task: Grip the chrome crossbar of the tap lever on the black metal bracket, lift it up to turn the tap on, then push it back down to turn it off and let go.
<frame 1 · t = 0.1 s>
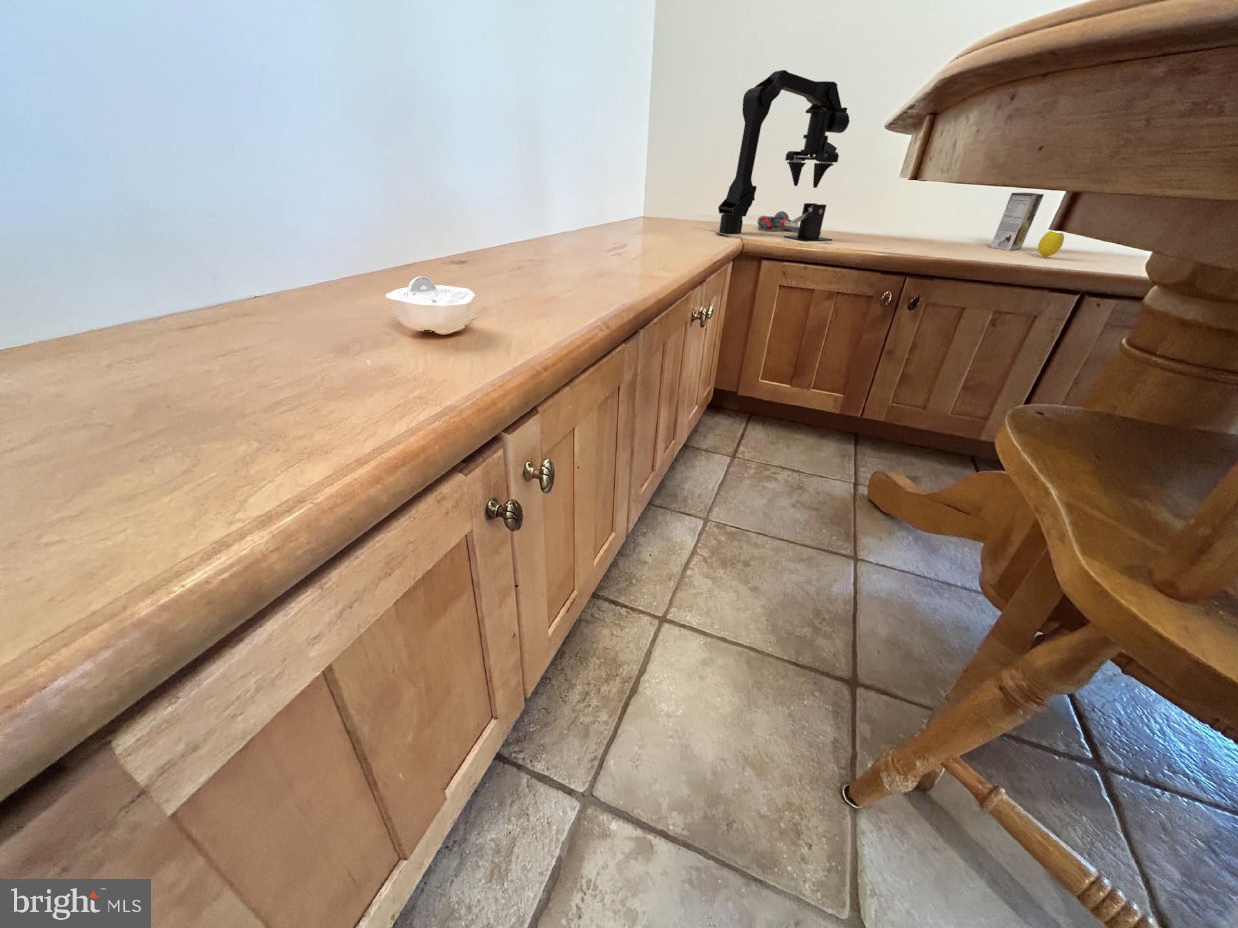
hand: (805, 187, 168), 15 cm above the worktop, tool pointing down, fingers open, 9 cm apart
lemon: (1043, 258, 149), on the worktop
tap bracket: (807, 241, 160), on the worktop
tap lever: (803, 216, 155), point 7 cm above the worktop, hinge at -25.0°
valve: (781, 234, 176), on the worktop
cell model: (438, 333, 67), on the worktop
coffee box: (1005, 248, 166), on the worktop
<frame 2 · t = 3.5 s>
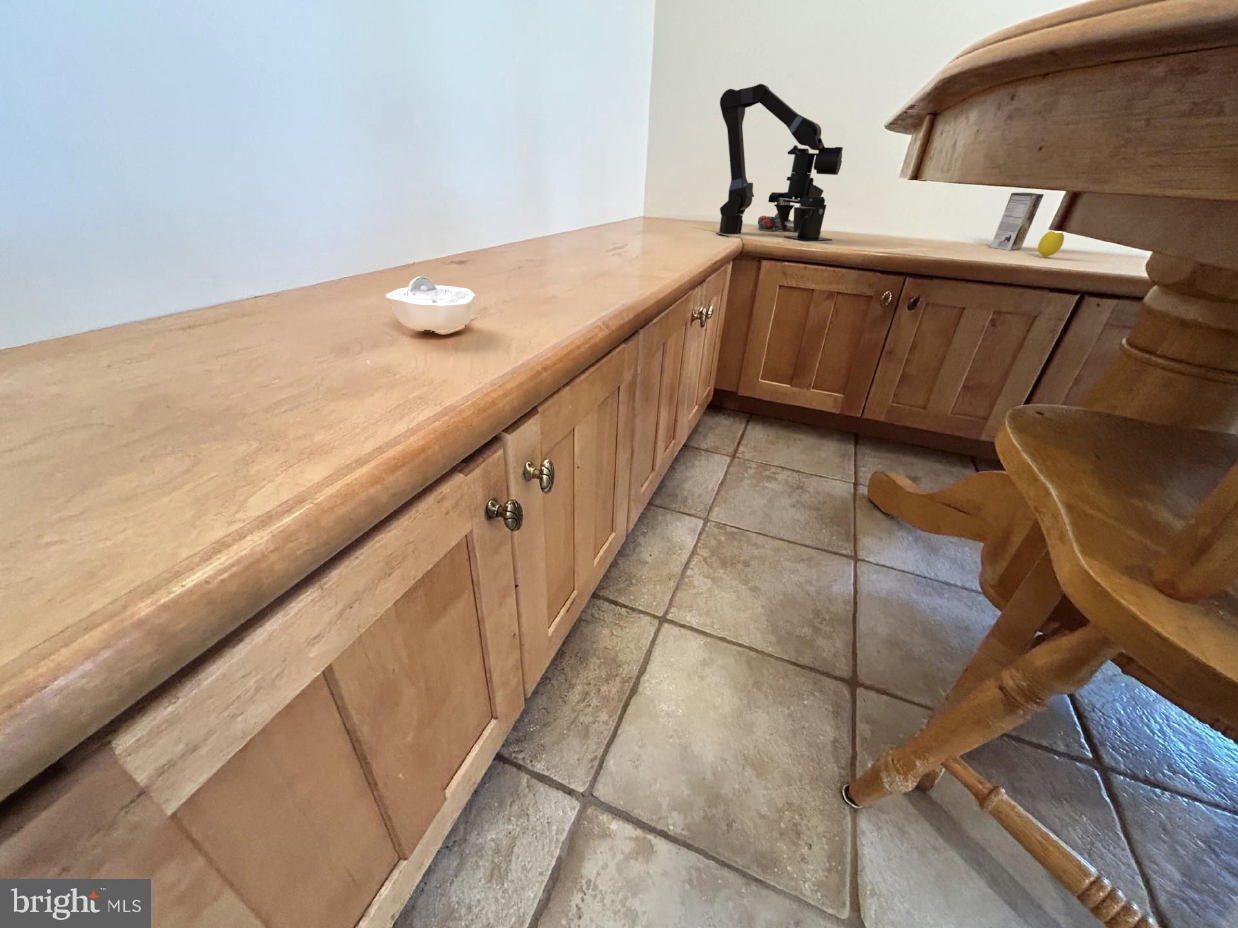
hand: (789, 231, 155), 3 cm above the worktop, tool pointing down, fingers closed on tap lever, 5 cm apart
tap lever: (803, 216, 155), point 7 cm above the worktop, hinge at -25.0°, touching gripper
everything else where it was.
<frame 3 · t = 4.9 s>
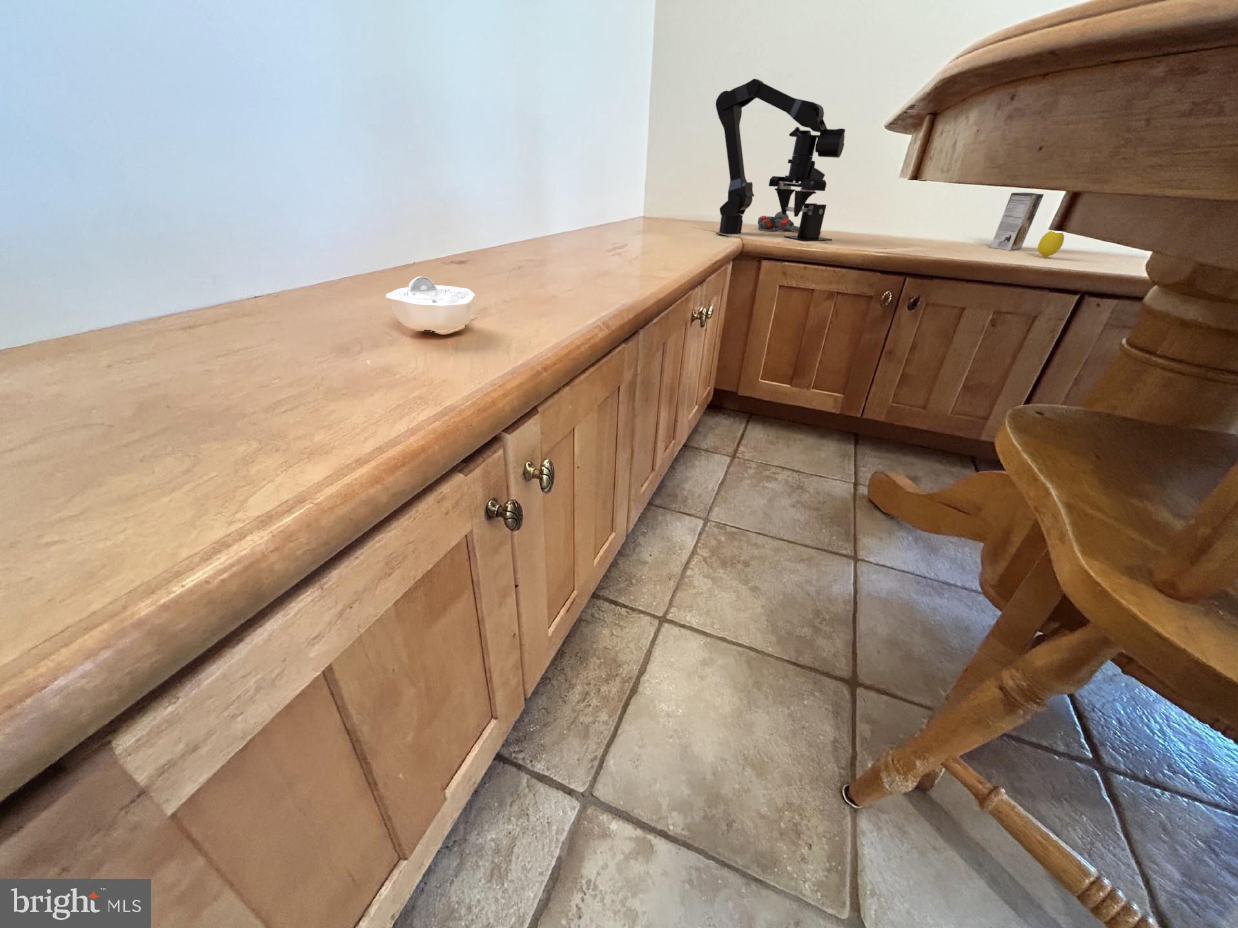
hand: (789, 215, 152), 8 cm above the worktop, tool pointing down, fingers closed on tap lever, 5 cm apart
tap lever: (803, 210, 154), point 9 cm above the worktop, hinge at 1.7°, touching gripper
everything else where it was.
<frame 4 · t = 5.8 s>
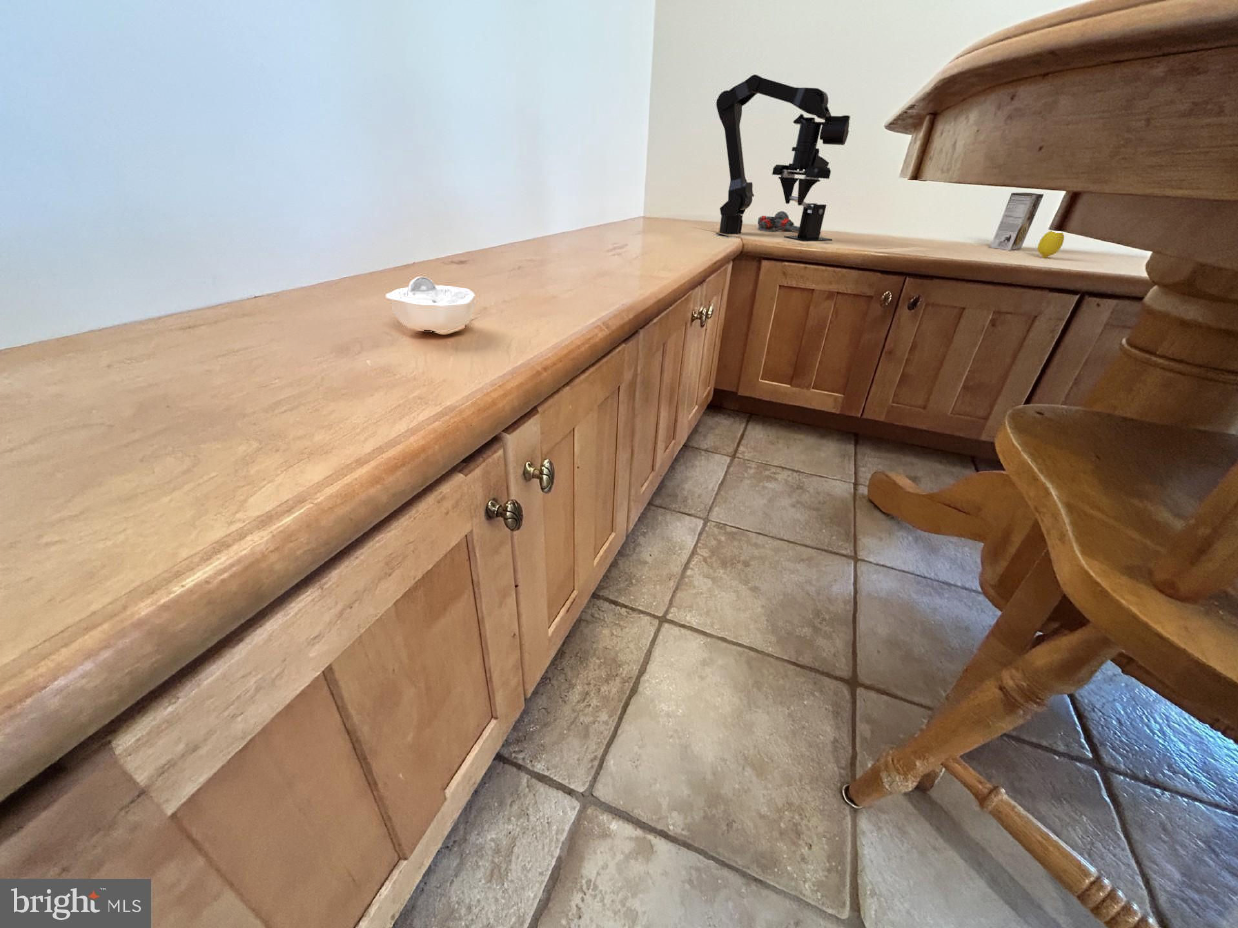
hand: (793, 204, 151), 11 cm above the worktop, tool pointing down, fingers closed on tap lever, 5 cm apart
tap lever: (805, 205, 153), point 10 cm above the worktop, hinge at 20.5°, touching gripper
everything else where it was.
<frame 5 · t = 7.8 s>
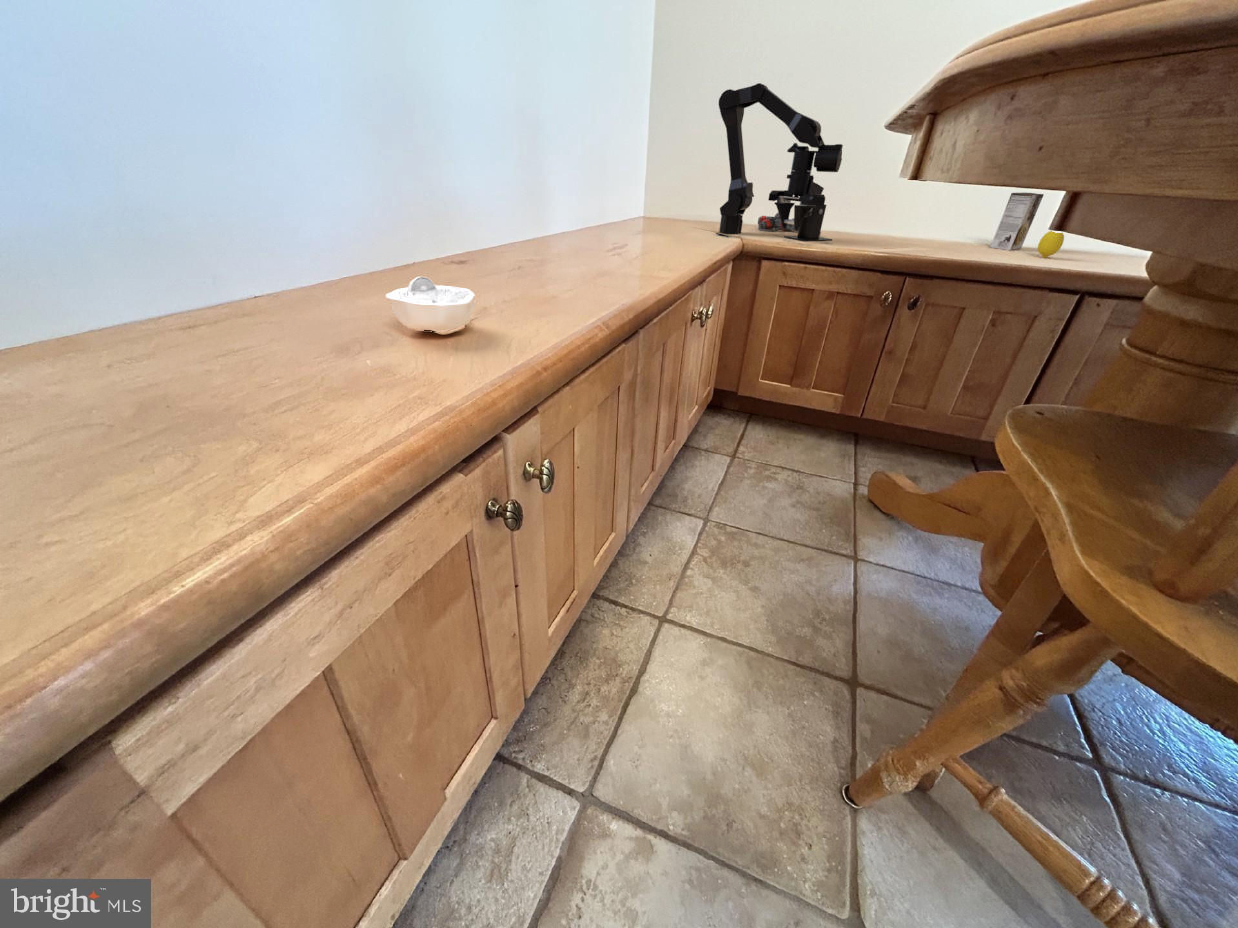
hand: (790, 229, 155), 4 cm above the worktop, tool pointing down, fingers closed on tap lever, 5 cm apart
tap lever: (803, 215, 155), point 8 cm above the worktop, hinge at -20.9°, touching gripper
everything else where it was.
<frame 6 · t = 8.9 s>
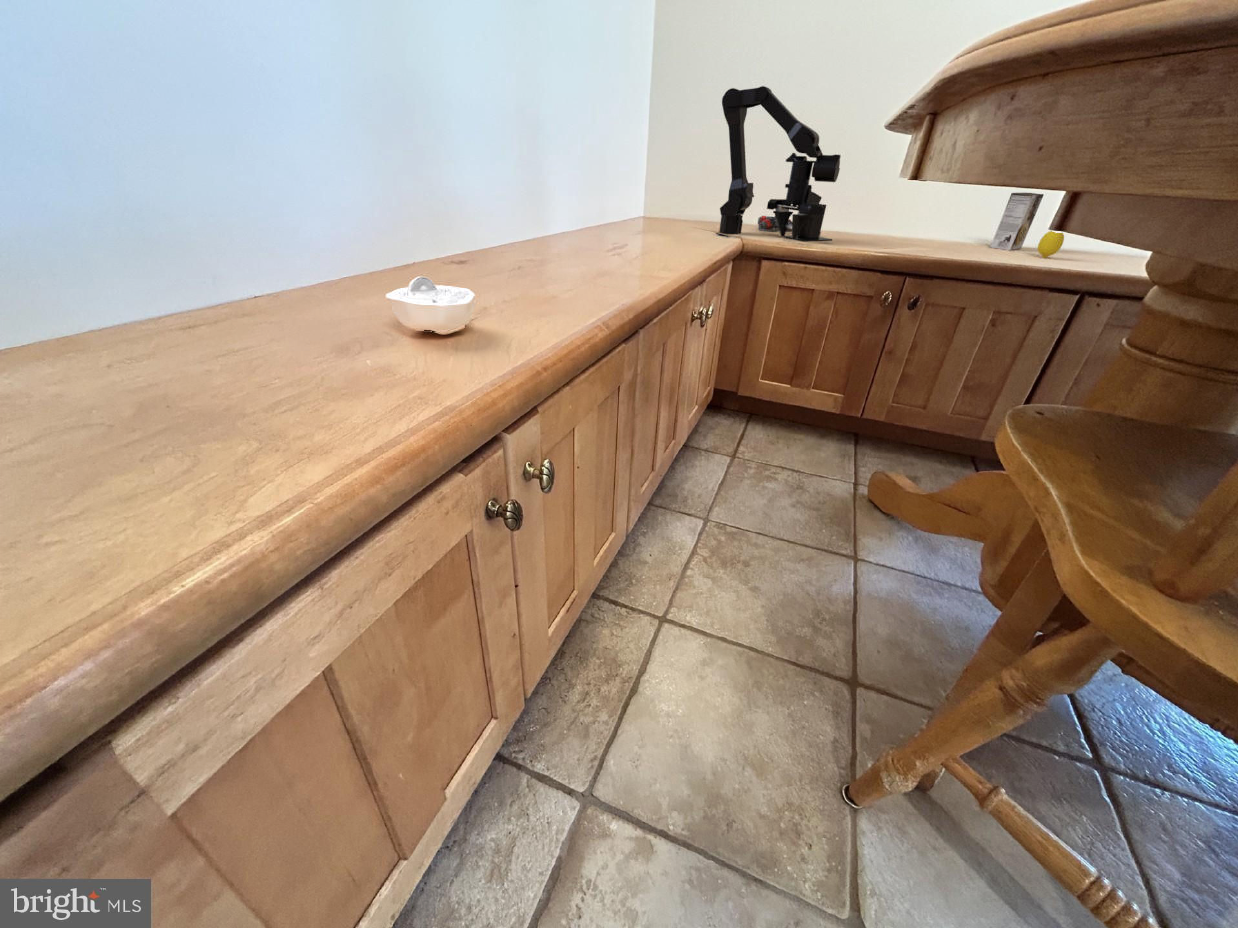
hand: (788, 237, 156), 1 cm above the worktop, tool pointing down, fingers open, 5 cm apart
tap lever: (803, 218, 155), point 7 cm above the worktop, hinge at -30.5°
everything else where it was.
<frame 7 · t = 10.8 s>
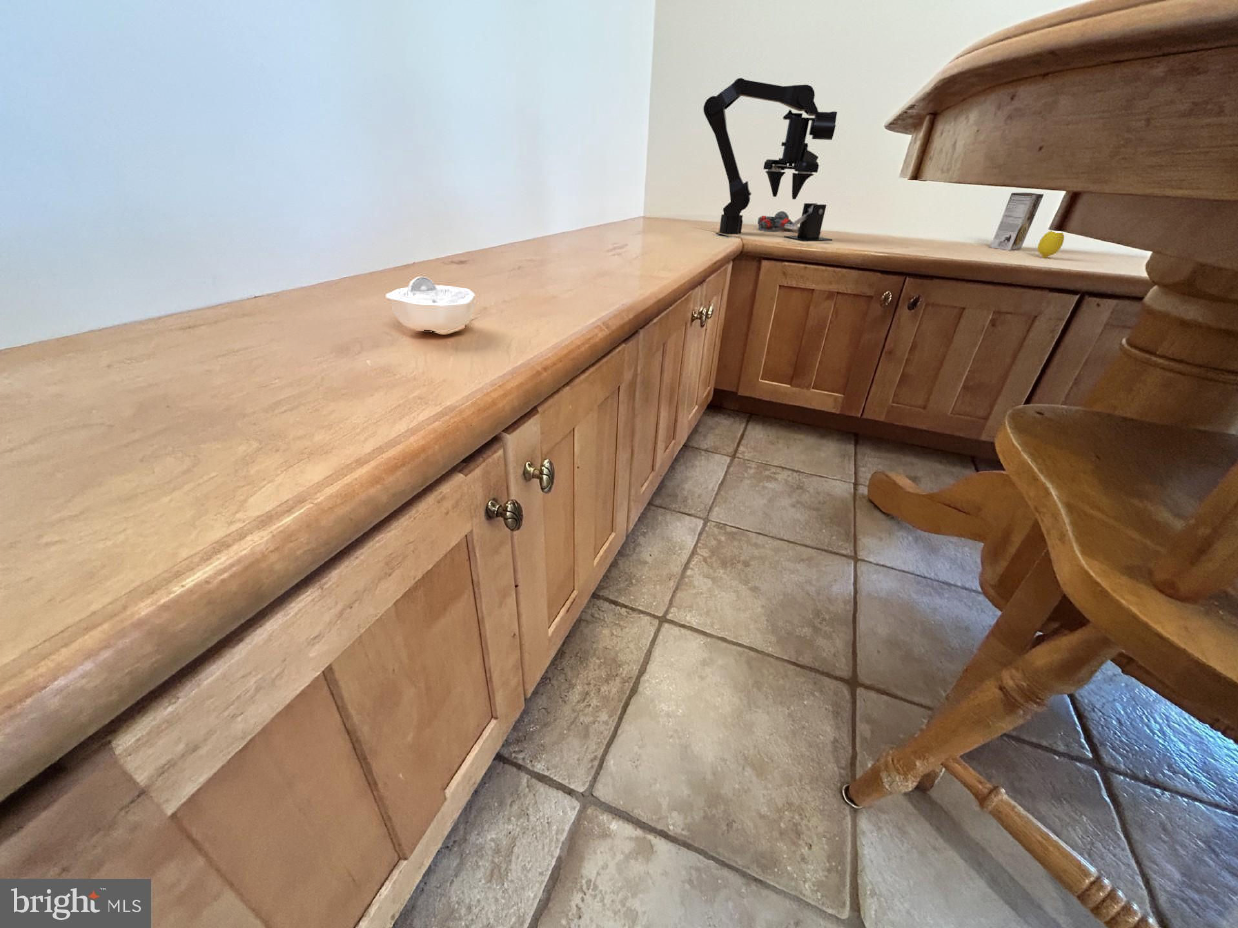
hand: (784, 198, 156), 12 cm above the worktop, tool pointing down, fingers open, 9 cm apart
nothing on the worktop moved.
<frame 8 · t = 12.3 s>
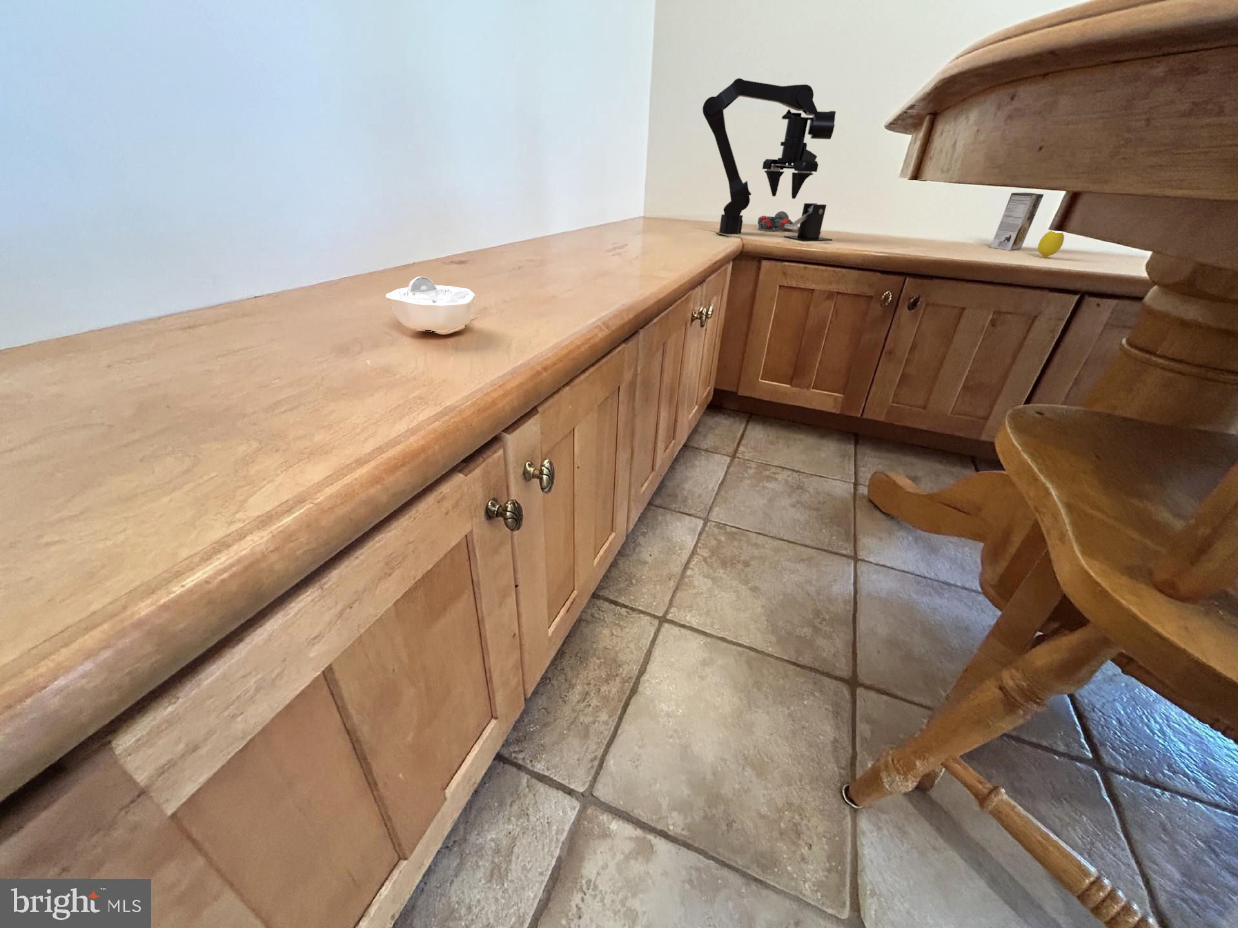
hand: (783, 197, 156), 12 cm above the worktop, tool pointing down, fingers open, 9 cm apart
nothing on the worktop moved.
at the end: tap lever reached +21° during the clip, -30° at the end; tap lever at -30° (first picture: -25°); the gripper is holding nothing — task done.
